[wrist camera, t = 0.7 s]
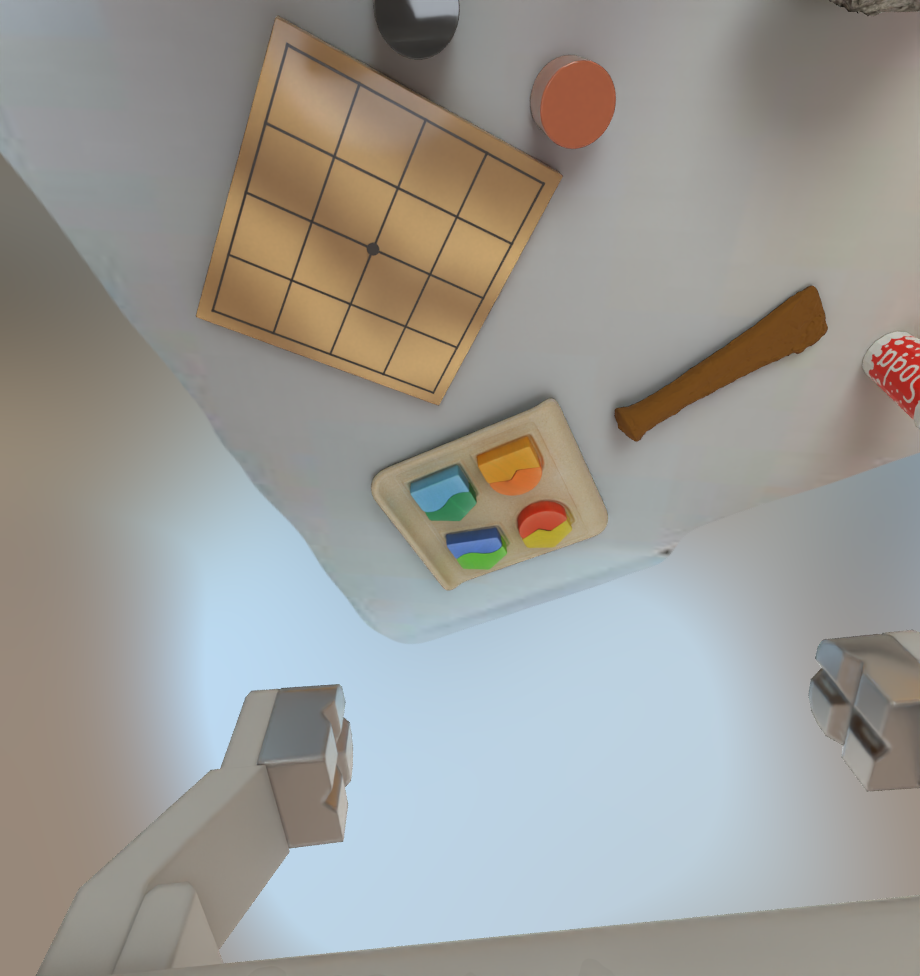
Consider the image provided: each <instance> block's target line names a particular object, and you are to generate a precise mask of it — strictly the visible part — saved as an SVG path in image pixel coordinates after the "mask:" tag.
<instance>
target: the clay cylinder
mask: <svg viewBox="0 0 920 976" xmlns="http://www.w3.org/2000/svg"><path fill="white" fill-rule="evenodd" d="M615 104H616V94H615V88H614V84H613V81H612V79H611V77H610V75H609V74H608V72H607V71H606V70H605V69H604V68H603V67H602V66H600V65H599V64H597V63H595V62H593V61H590V60H588V59H585V58H583V57H580V56H577V55H564V56H560V57H558V58H556V59H554V60H552V61H551V62H549V63H548V64H547V65H546V66H545V67H544V68H543V69H542V70H541V71H540V73H539V74H538V76H537V78H536V80H535V82H534V84H533V87H532V91H531V98H530V107H531V113H532V116H533V119H534V121H535V123H536V125H537V126H538V128H539V129H540V130H541V131H542V132H543V133H544V134H545V135H547V136H548V137H549V138H550V139H551V140H552V141H553V142H554V143H556V144H557V145H559V146H561V147H564V148H569V149H577V148H582V147H585V146H587V145H589V144H591V143H593V142H594V141H596V140H597V139H598V138H599V137H600V136H601V135H602V134H603V133H604V131H605V130H606V129H607V127H608V125H609V124H610V122H611V119H612V117H613V114H614V110H615Z"/></svg>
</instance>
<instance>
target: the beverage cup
mask: <svg viewBox="0 0 920 976" xmlns="http://www.w3.org/2000/svg"><path fill="white" fill-rule="evenodd" d="M862 367H863V369H864V371H865V373H866V374H867V375H868V376H869V377H870V378H871V379H872V380H873V381H874V382H875V383H876V384H877V385H878V386H879V387H880V388H881V389H882V390H883V391H884V392H885V393H886V394H887V395H888V396H890V397H891V398H892V399H893V400H894V401H895V402H896V403H897V404H898V405H899V406H900V407H901V408H902V409H903V410H904V411H905V412H906V413H907V414H908V415H909V416H910V417H911V418H912V419H913V420H914V422H915V424H916V427H917V428H919V429H920V340H919V339H917V338H916V337H914V336H912V335H910V334H908V333H907V332H899V331H896V332H893V333H890V334H887V335H885V336H883V337H882V338H880V339H879V340H877V341H876V342H875V343H874V344H873V345H872V346H871V347H870V348H869V349H868V351H867V353H866V354H865V356H864V358H863V366H862Z"/></svg>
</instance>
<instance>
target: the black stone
mask: <svg viewBox="0 0 920 976" xmlns="http://www.w3.org/2000/svg"><path fill="white" fill-rule="evenodd" d="M373 7H374V14H375V18H376V22H377V25H378V28H379V30H380V33H381V34H382V36H383V38H384V39H385V41H386V42H387V44H388V45H389V46H390V47H391V48H392V49H393V50H394V51H396V52H397V53H399V54H400V55H402V56H404V57H407V58H410V59H427V58H430V57H432V56H434V55H436V54H438V53H439V52H441V51H442V50H443V49H444V48H445V47H446V46H447V45H448V43H449V42H450V40H451V39H452V37H453V35H454V33H455V31H456V28H457V25H458V20H459V12H460V4H459V0H373Z"/></svg>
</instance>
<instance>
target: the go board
mask: <svg viewBox="0 0 920 976" xmlns="http://www.w3.org/2000/svg"><path fill="white" fill-rule="evenodd" d="M562 177H563V176H562V175H561V174H560V173H559V172H558V171H557V170H555V169H553V168H551V167H549V166H548V165H546V164H544V163H542V162H540V161H539V160H537V159H535V158H533V157H531V156H530V155H528V154H526V153H524V152H522V151H521V150H519V149H517V148H515V147H513V146H512V145H510V144H508V143H506V142H504V141H503V140H501V139H499V138H497V137H495V136H494V135H492V134H490V133H488V132H486V131H485V130H483V129H481V128H479V127H477V126H476V125H474V124H472V123H470V122H468V121H467V120H465V119H463V118H461V117H459V116H458V115H456V114H454V113H452V112H450V111H449V110H447V109H445V108H443V107H441V106H440V105H438V104H436V103H434V102H432V101H431V100H429V99H427V98H425V97H423V96H422V95H420V94H418V93H416V92H414V91H413V90H411V89H409V88H407V87H405V86H404V85H402V84H400V83H398V82H396V81H395V80H393V79H391V78H389V77H387V76H386V75H384V74H382V73H380V72H378V71H377V70H375V69H373V68H371V67H369V66H368V65H366V64H364V63H362V62H360V61H359V60H357V59H355V58H353V57H352V56H350V55H348V54H346V53H344V52H343V51H341V50H339V49H337V48H335V47H334V46H332V45H330V44H328V43H326V42H325V41H323V40H321V39H319V38H317V37H316V36H314V35H312V34H310V33H308V32H307V31H305V30H303V29H301V28H299V27H298V26H296V25H294V24H292V23H290V22H289V21H287V20H285V19H283V18H281V17H280V16H277V17H276V18H275V21H274V25H273V29H272V33H271V36H270V40H269V44H268V48H267V51H266V55H265V59H264V63H263V66H262V70H261V74H260V78H259V81H258V85H257V89H256V93H255V96H254V100H253V104H252V108H251V111H250V115H249V119H248V123H247V126H246V130H245V134H244V138H243V141H242V145H241V149H240V153H239V156H238V160H237V164H236V168H235V171H234V175H233V179H232V183H231V186H230V190H229V194H228V198H227V201H226V205H225V209H224V213H223V216H222V220H221V224H220V228H219V231H218V235H217V239H216V243H215V246H214V250H213V254H212V258H211V261H210V265H209V269H208V273H207V276H206V280H205V284H204V288H203V291H202V295H201V299H200V303H199V306H198V310H197V314H196V317H198V318H200V319H203V320H206V321H209V322H211V323H214V324H217V325H220V326H222V327H225V328H228V329H231V330H233V331H236V332H239V333H241V334H244V335H247V336H250V337H252V338H255V339H258V340H261V341H263V342H266V343H269V344H272V345H274V346H277V347H280V348H283V349H285V350H288V351H291V352H293V353H296V354H299V355H302V356H304V357H307V358H310V359H313V360H315V361H318V362H321V363H324V364H326V365H329V366H332V367H334V368H337V369H340V370H343V371H345V372H348V373H351V374H354V375H356V376H359V377H362V378H365V379H367V380H370V381H373V382H376V383H378V384H381V385H384V386H386V387H389V388H392V389H395V390H397V391H400V392H403V393H406V394H408V395H411V396H414V397H417V398H419V399H422V400H425V401H427V402H430V403H433V404H436V405H439V404H440V402H441V401H442V399H443V397H444V395H445V393H446V391H447V389H448V388H449V386H450V384H451V382H452V380H453V378H454V377H455V375H456V373H457V371H458V369H459V367H460V365H461V364H462V362H463V360H464V358H465V356H466V354H467V352H468V351H469V349H470V347H471V345H472V343H473V341H474V340H475V338H476V336H477V334H478V332H479V330H480V328H481V327H482V325H483V323H484V321H485V319H486V317H487V315H488V314H489V312H490V310H491V308H492V306H493V304H494V303H495V301H496V299H497V297H498V295H499V293H500V291H501V290H502V288H503V286H504V284H505V282H506V280H507V278H508V277H509V275H510V273H511V271H512V269H513V267H514V266H515V264H516V262H517V260H518V258H519V256H520V254H521V253H522V251H523V249H524V247H525V245H526V243H527V241H528V240H529V238H530V236H531V234H532V232H533V230H534V229H535V227H536V225H537V223H538V221H539V219H540V217H541V216H542V214H543V212H544V210H545V208H546V206H547V204H548V203H549V201H550V199H551V197H552V195H553V193H554V192H555V190H556V188H557V186H558V184H559V182H560V180H561V179H562Z"/></svg>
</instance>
